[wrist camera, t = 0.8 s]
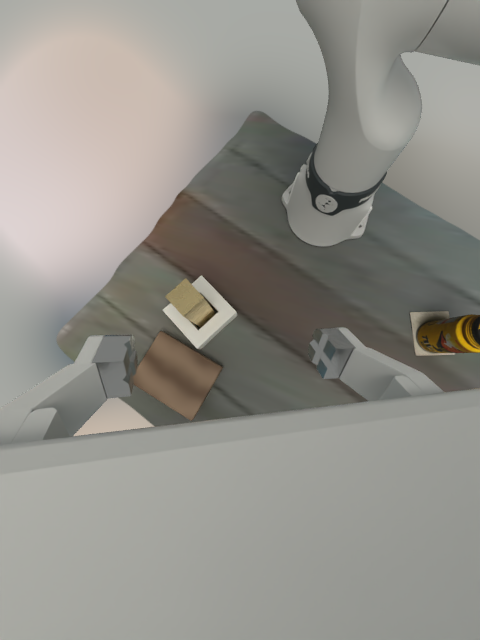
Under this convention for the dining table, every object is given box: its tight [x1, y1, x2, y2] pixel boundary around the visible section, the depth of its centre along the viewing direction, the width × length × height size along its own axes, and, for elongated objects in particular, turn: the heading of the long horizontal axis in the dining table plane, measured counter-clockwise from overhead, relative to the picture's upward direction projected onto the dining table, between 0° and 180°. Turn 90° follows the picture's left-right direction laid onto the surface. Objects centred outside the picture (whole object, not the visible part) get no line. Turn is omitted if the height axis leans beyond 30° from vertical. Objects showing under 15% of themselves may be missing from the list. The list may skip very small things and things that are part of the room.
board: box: [133, 331, 223, 421], centre depth 45 cm, size 11×14×2 cm
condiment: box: [410, 311, 480, 356], centre depth 39 cm, size 7×8×12 cm
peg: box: [165, 279, 216, 327], centre depth 40 cm, size 4×4×14 cm
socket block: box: [163, 275, 237, 349], centre depth 45 cm, size 10×10×4 cm
